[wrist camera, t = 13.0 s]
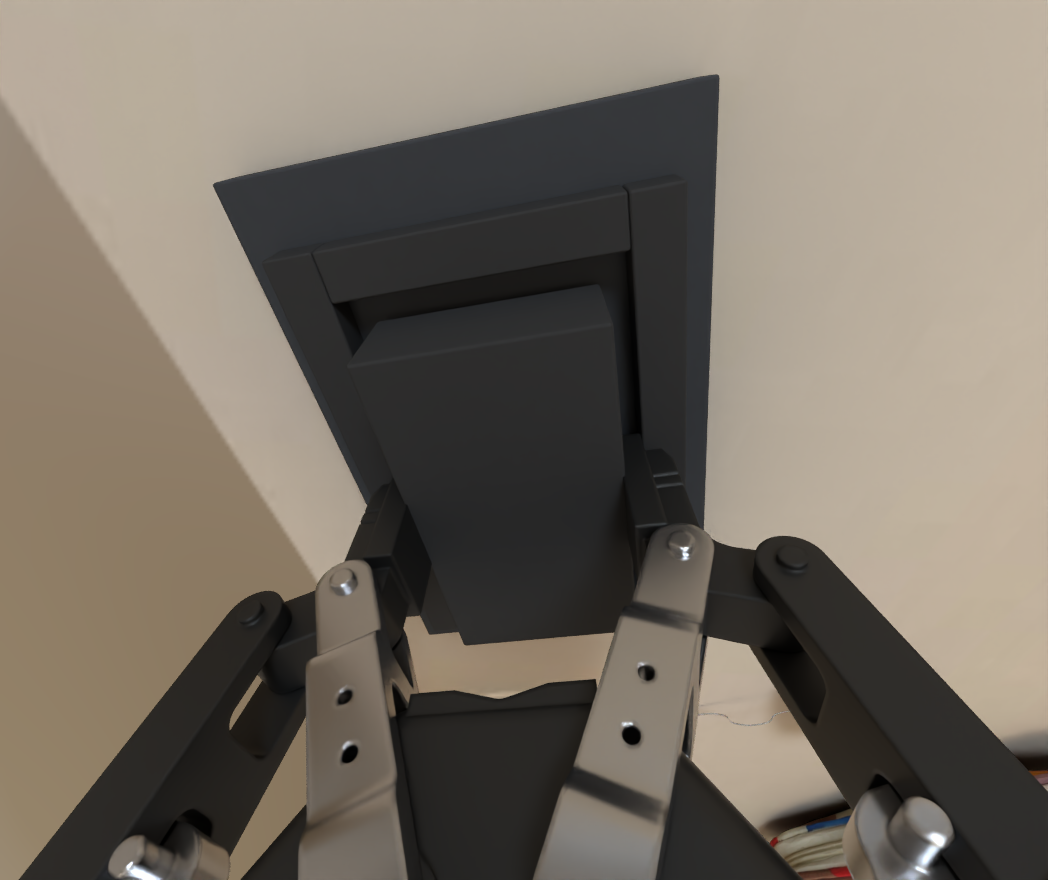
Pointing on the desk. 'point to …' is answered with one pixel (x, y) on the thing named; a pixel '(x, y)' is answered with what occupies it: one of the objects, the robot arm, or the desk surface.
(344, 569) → the robot arm
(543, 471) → the black pad
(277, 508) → the desk surface
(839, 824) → the pencil case
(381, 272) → the base pad
